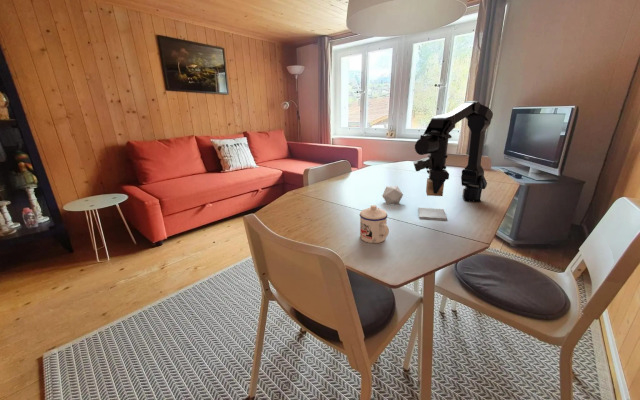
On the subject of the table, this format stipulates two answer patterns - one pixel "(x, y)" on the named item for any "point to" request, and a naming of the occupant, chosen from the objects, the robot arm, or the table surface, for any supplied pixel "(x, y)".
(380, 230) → the teacup with lid
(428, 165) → the robot arm
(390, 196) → the die
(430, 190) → the walnut cube
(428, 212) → the coaster
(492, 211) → the table surface
